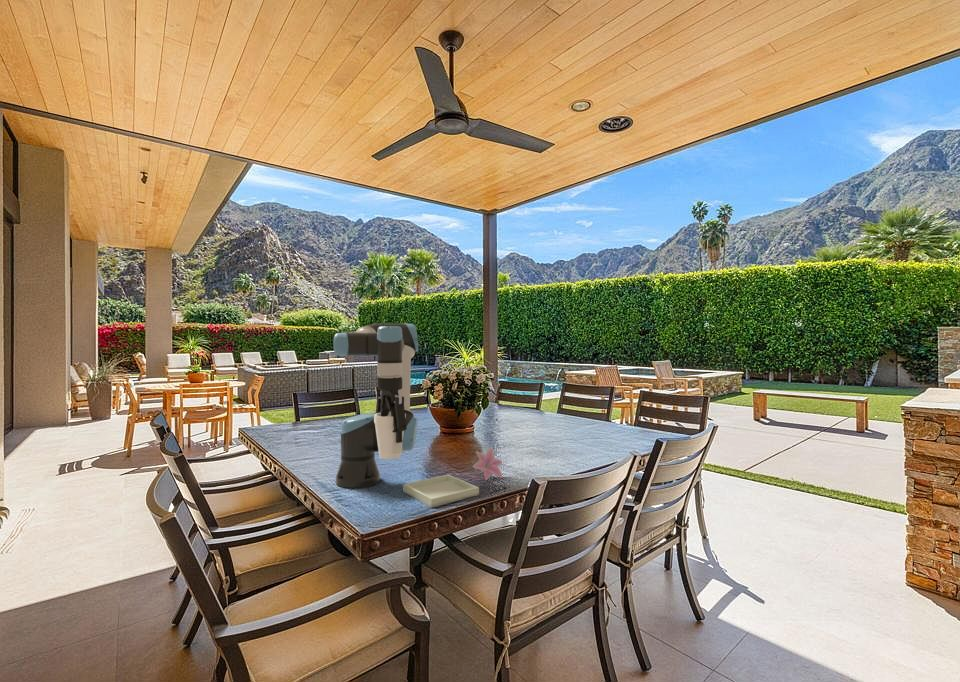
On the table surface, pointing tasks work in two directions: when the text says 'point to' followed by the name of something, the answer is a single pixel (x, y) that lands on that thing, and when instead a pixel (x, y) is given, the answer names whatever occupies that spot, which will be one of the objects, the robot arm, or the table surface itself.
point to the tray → (440, 490)
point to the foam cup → (385, 436)
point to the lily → (488, 464)
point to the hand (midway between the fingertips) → (390, 449)
